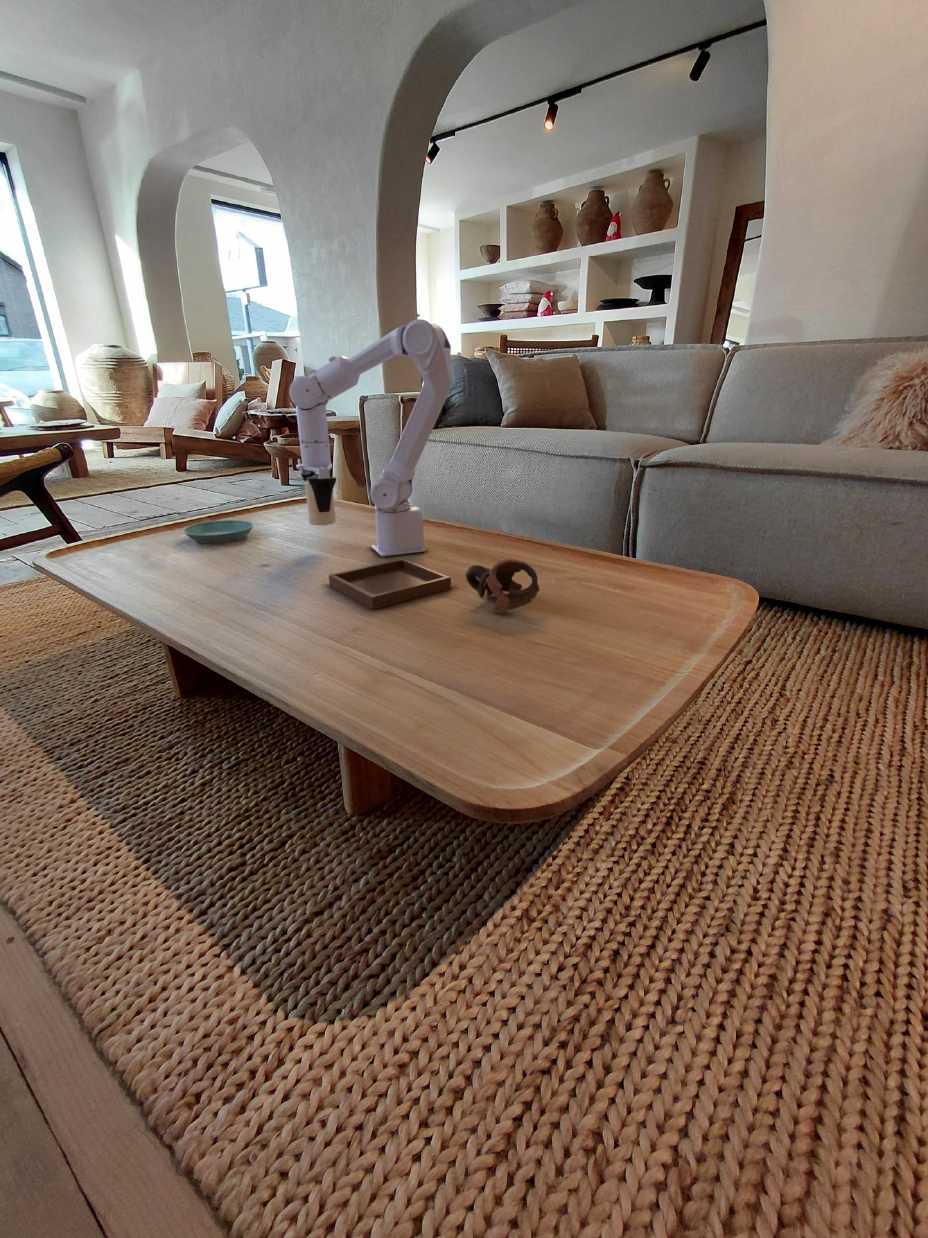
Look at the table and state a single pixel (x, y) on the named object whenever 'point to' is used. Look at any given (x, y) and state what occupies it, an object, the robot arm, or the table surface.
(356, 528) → the table surface
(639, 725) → the table surface
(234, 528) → the saucer
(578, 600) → the table surface
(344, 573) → the tray
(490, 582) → the leather belt
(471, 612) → the table surface
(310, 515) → the candle
